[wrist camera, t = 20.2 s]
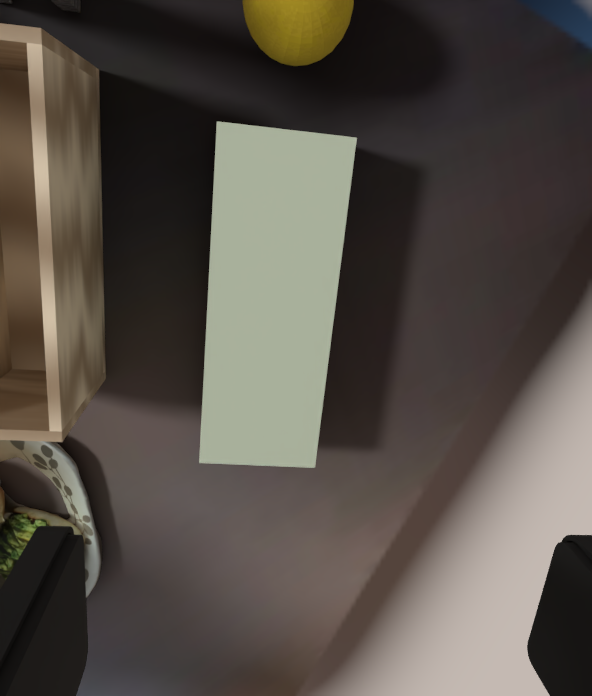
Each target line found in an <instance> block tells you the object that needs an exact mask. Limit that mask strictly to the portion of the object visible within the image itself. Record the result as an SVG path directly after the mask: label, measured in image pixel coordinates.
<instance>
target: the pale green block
mask: <svg viewBox="0 0 592 696" xmlns="http://www.w3.org/2000/svg"><path fill="white" fill-rule="evenodd" d="M356 141H357V138H355V137H346V136H338V135H329V134H321V133H312V132H304V131H295V130H287V129H278V128H270V127H261V126H253V125H244V124H236V123H227V122H219V121H217V127H216V147H215V166H214V186H213V205H212V224H211V244H210V263H209V283H208V302H207V322H206V341H205V360H204V380H203V399H202V419H201V438H200V458H199V463H213V464H237V465H260V466H284V467H308V468H315V463H316V455H317V447H318V439H319V431H320V424H321V416H322V408H323V400H324V392H325V384H326V376H327V369H328V361H329V353H330V345H331V337H332V329H333V321H334V314H335V306H336V298H337V290H338V282H339V274H340V266H341V259H342V251H343V243H344V235H345V227H346V219H347V211H348V204H349V196H350V188H351V180H352V172H353V164H354V156H355V149H356Z"/></svg>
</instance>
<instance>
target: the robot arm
mask: <svg viewBox="0 0 592 696" xmlns="http://www.w3.org/2000/svg"><path fill="white" fill-rule="evenodd" d="M527 648H528V656H529V659H530V662H531V664H532V666H533V667H534V669H535V671H536V673H537V674H538V676H539V678H540V679H541V681H542V683H543V685H544V686H545V688H546V690H547V691H548V693H549V695H550V696H592V535H568V536H566V537H565V538H563V540H562V542H560V543H558V544H557V545H556V547H555V550H554V553H553V557H552V560H551V564H550V567H549V571H548V574H547V578H546V581H545V585H544V588H543V592H542V595H541V599H540V602H539V605H538V609H537V613H536V616H535V619H534V623H533V626H532V630H531V633H530V637H529V640H528V645H527ZM87 653H88V634H87V609H86V584H85V558H84V538H83V535H74V530H73V528H72V527H71V526H39V527H37V529H36V530H35V531H34V533H33V535H32V536H31V538H30V540H29V542H28V543H27V545H26V547H25V548H24V550H23V552H22V553H21V555H20V557H19V558H18V560H17V562H16V564H15V565H14V567H13V569H12V570H11V572H10V574H9V575H8V577H7V579H6V580H5V582H4V584H3V586H2V587H1V589H0V696H76V694H77V691H78V688H79V685H80V682H81V678H82V675H83V672H84V669H85V665H86V660H87Z"/></svg>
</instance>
